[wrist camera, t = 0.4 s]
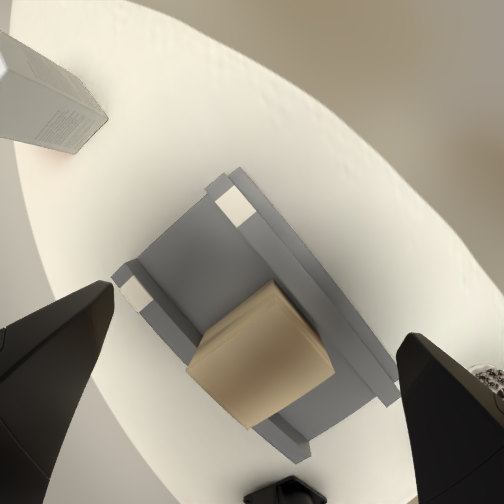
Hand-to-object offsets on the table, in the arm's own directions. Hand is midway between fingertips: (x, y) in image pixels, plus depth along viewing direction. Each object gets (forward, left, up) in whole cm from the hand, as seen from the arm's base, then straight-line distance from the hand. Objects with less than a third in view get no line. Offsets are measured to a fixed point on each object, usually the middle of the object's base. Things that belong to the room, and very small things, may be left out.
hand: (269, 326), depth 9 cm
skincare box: (+19, +4, -13) cm, 24 cm away
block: (-4, +3, -12) cm, 13 cm away
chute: (-4, +3, -13) cm, 14 cm away
